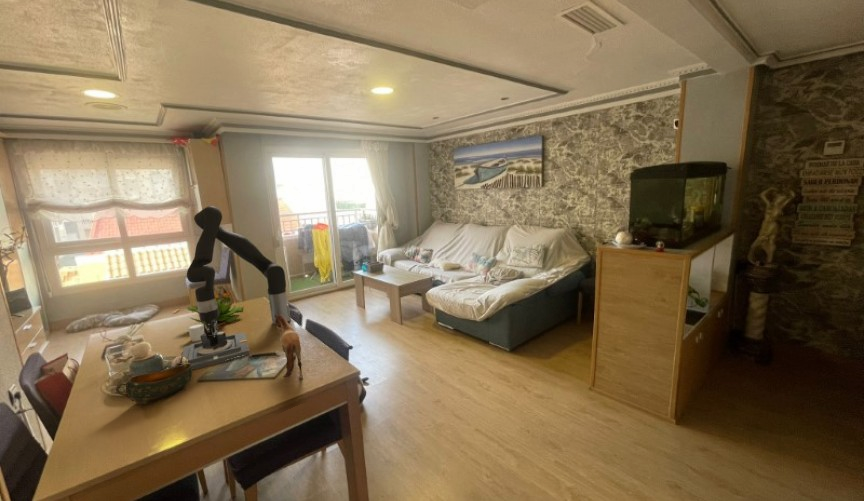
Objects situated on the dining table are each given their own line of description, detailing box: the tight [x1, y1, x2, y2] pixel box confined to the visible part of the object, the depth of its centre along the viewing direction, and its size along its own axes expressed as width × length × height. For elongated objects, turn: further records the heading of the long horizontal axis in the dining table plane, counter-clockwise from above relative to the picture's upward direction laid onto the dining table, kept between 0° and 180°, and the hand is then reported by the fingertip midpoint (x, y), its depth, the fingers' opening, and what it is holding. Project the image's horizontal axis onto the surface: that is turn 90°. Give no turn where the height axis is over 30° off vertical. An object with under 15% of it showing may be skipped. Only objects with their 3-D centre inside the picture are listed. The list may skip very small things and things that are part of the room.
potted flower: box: [186, 292, 245, 327], centre depth 198 cm, size 25×24×18 cm
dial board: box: [181, 331, 250, 370], centre depth 163 cm, size 26×26×4 cm
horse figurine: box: [274, 314, 304, 379], centre depth 140 cm, size 31×8×21 cm, turn 26°
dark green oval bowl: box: [115, 364, 193, 406], centre depth 129 cm, size 13×20×10 cm, turn 109°
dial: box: [197, 331, 233, 355], centre depth 162 cm, size 14×14×7 cm
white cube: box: [187, 323, 205, 342], centre depth 180 cm, size 7×7×7 cm
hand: (214, 343), depth 162 cm, fingers closed on dial, 3 cm apart
